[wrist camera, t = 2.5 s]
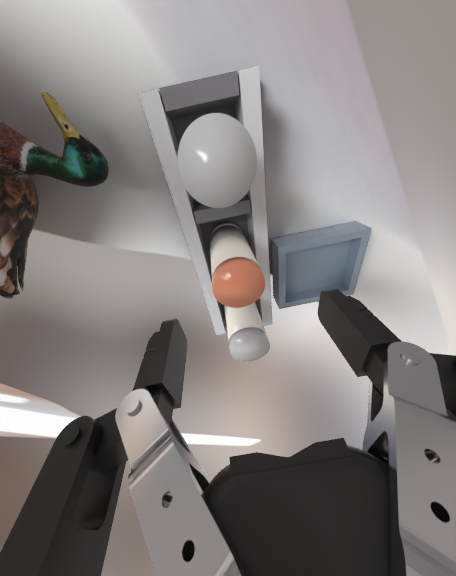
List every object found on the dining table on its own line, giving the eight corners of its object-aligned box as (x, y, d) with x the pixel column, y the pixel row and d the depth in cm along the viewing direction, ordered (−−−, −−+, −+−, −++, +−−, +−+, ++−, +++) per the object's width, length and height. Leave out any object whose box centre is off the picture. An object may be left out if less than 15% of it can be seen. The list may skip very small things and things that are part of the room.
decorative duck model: (60, 76, 9) (129, 313, 17) (109, 111, 15) (143, 273, 23) (-475, 1, 6) (-84, 330, 14) (-146, 81, 12) (-4, 279, 20)
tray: (273, 296, 27) (279, 308, 25) (271, 238, 22) (278, 247, 20) (341, 283, 27) (353, 294, 25) (355, 221, 22) (371, 228, 19)
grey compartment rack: (211, 314, 28) (212, 338, 24) (143, 100, 14) (123, 83, 11) (267, 303, 28) (277, 325, 24) (252, 75, 14) (268, 50, 11)
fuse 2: (225, 303, 25) (233, 364, 18) (219, 281, 23) (226, 340, 16) (251, 297, 25) (270, 357, 18) (248, 275, 23) (268, 332, 16)
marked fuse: (213, 256, 21) (218, 311, 14) (205, 225, 19) (206, 270, 12) (245, 250, 21) (266, 302, 14) (240, 217, 19) (263, 258, 12)
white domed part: (196, 188, 17) (190, 214, 10) (184, 137, 15) (165, 123, 8) (235, 179, 17) (259, 200, 10) (229, 127, 15) (252, 103, 7)
